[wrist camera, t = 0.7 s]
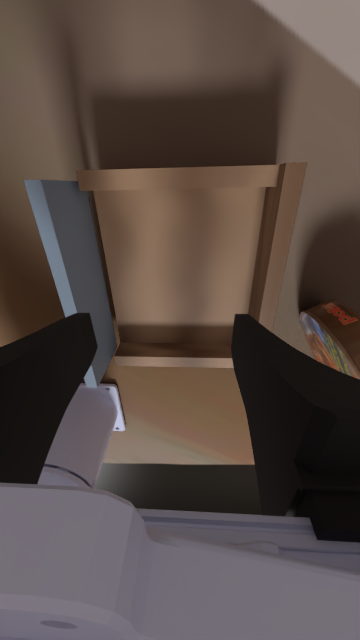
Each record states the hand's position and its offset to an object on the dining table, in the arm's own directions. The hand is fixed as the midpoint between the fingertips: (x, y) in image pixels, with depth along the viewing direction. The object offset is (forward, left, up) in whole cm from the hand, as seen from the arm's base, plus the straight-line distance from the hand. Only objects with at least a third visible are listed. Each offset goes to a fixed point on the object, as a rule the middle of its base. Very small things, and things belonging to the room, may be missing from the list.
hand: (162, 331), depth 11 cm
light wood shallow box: (+1, 0, -9) cm, 9 cm away
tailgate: (-5, 0, -7) cm, 9 cm away
